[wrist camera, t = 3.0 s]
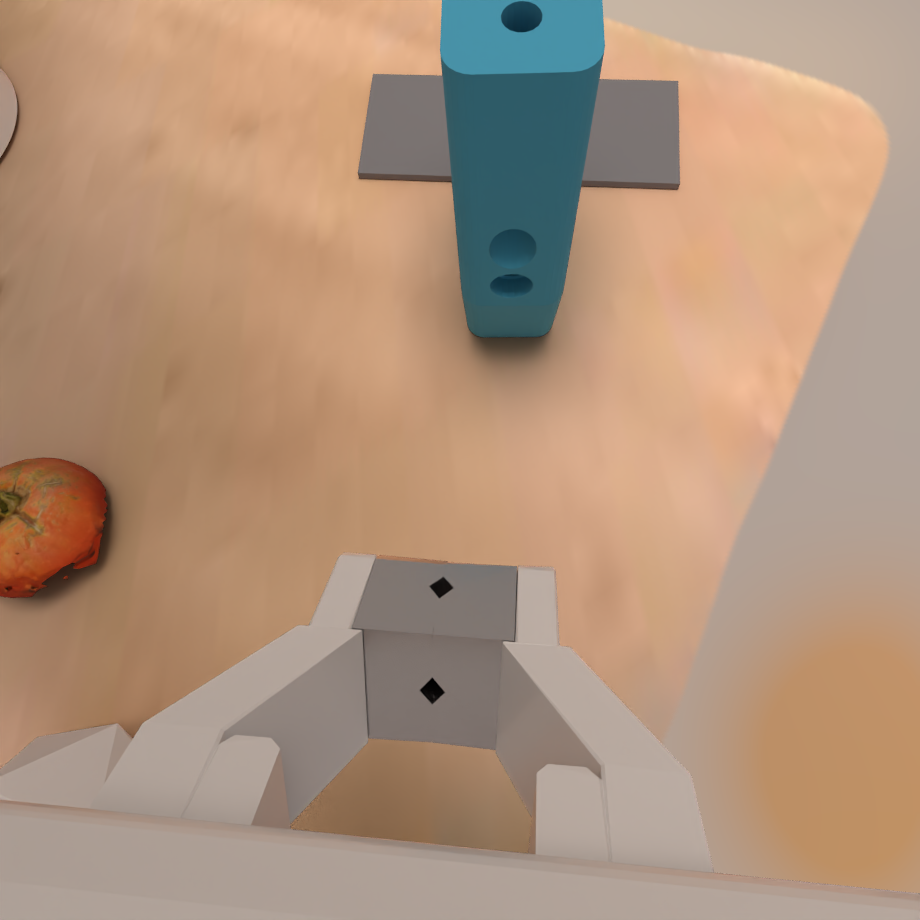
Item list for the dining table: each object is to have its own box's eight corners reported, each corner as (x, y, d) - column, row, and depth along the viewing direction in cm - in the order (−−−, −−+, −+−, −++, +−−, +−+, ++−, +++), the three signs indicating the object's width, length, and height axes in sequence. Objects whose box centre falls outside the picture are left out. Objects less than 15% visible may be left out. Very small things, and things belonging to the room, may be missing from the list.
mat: (359, 178, 44) (357, 172, 44) (374, 80, 47) (373, 73, 46) (677, 189, 43) (679, 183, 42) (676, 87, 45) (678, 81, 45)
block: (553, 364, 40) (606, 71, 21) (466, 364, 40) (439, 75, 21) (549, 189, 43) (591, -196, 24) (469, 191, 44) (449, -189, 25)
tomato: (140, 463, 38) (19, 520, 31) (150, 571, 40) (41, 643, 34) (29, 431, 40) (-104, 478, 34) (45, 535, 43) (-75, 596, 36)
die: (49, 724, 36) (-152, 885, 27) (147, 654, 32) (-46, 811, 23) (151, 843, 36) (-13, 1038, 28) (256, 787, 33) (109, 988, 24)
